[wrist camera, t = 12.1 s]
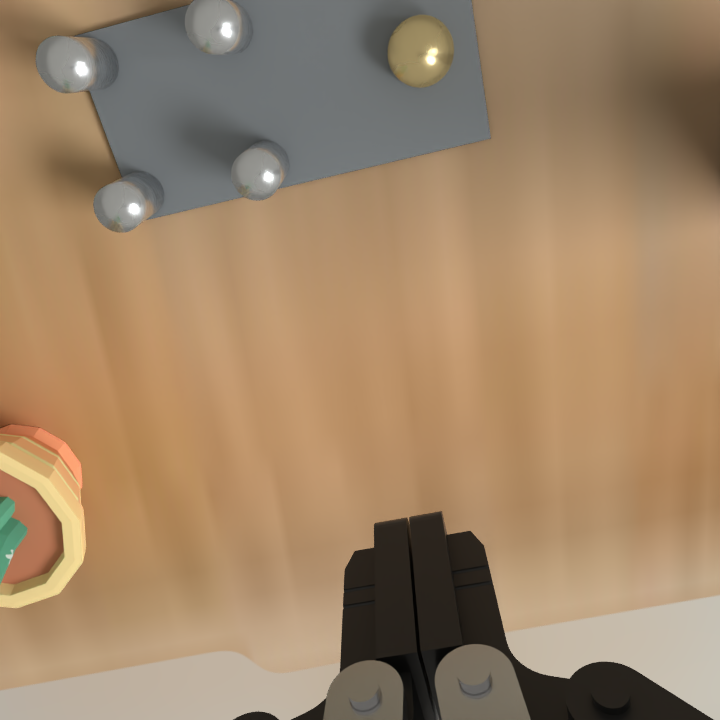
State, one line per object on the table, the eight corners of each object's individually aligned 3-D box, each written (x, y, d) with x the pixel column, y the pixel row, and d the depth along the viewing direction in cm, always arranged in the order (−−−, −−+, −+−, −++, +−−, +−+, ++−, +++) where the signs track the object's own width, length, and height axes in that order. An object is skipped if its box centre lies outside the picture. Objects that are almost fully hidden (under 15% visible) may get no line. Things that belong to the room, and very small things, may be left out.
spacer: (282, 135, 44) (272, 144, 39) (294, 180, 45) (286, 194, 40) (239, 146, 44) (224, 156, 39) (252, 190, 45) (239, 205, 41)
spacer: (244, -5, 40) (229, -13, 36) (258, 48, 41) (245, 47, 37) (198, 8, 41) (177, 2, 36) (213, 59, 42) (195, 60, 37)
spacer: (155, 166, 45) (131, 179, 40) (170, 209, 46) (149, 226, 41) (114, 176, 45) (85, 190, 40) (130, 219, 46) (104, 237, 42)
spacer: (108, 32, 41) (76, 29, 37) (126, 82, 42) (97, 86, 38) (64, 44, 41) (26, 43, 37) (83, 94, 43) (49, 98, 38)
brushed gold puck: (443, 8, 40) (446, 6, 39) (455, 76, 42) (459, 77, 40) (380, 26, 41) (381, 25, 39) (395, 93, 42) (396, 95, 41)
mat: (460, -68, 39) (461, -70, 39) (489, 137, 44) (490, 138, 44) (72, 37, 42) (69, 37, 41) (140, 220, 47) (138, 221, 46)
